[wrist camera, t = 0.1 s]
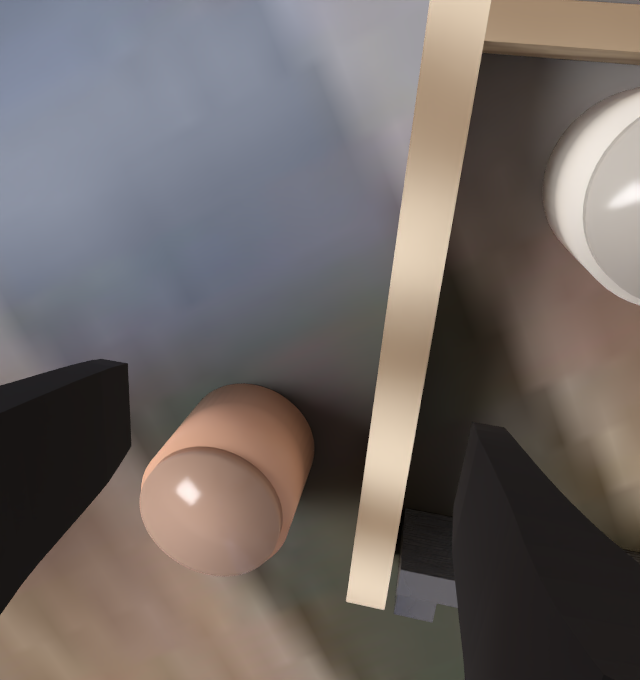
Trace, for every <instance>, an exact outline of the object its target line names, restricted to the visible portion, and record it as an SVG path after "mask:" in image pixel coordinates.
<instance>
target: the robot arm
mask: <svg viewBox="0 0 640 680" xmlns="http://www.w3.org/2000/svg"><path fill="white" fill-rule="evenodd" d="M130 447H131V427H130V405H129V382H128V363H122V362H116V361H110V360H104V359H98V360H91V361H86V362H82V363H78V364H74V365H70V366H67V367H63V368H59V369H56V370H52V371H49V372H46V373H42V374H39V375H35V376H32V377H29V378H25V379H22V380H18V381H15V382H12V383H8V384H5V385H1V386H0V614H1V613H2V612H3V610H4V609H5V607H6V606H7V605H8V603H9V602H10V600H11V599H12V597H13V596H14V595H15V593H16V592H17V590H18V589H19V587H20V586H21V585H22V583H23V582H24V581H25V580H26V578H27V577H28V576H29V575H30V573H31V572H32V571H33V570H34V568H35V567H36V566H37V565H38V563H39V562H40V561H41V560H42V559H43V558H44V556H45V555H46V554H47V553H48V552H49V551H50V550H51V548H52V547H53V546H54V545H55V544H56V543H57V542H58V540H59V539H60V538H61V537H62V536H63V535H64V534H65V532H66V531H67V530H68V529H69V528H70V527H71V525H72V524H73V523H74V522H75V521H76V520H77V519H78V517H79V516H80V515H81V514H82V513H83V512H84V511H85V509H86V508H87V507H88V506H89V505H90V504H91V502H92V501H93V500H94V499H95V498H96V496H97V495H98V494H99V493H100V492H101V491H102V489H103V488H104V487H105V486H106V484H107V483H108V482H109V480H110V479H111V477H112V476H113V474H114V473H115V471H116V470H117V468H118V467H119V465H120V464H121V462H122V460H123V459H124V457H125V455H126V454H127V452H128V450H129V449H130ZM452 556H453V566H454V576H455V586H456V595H457V604H458V613H459V623H460V632H461V641H462V650H463V659H464V673H465V680H640V564H639V563H638V562H637V561H636V560H635V559H633V558H632V557H631V556H630V555H628V554H627V553H626V552H625V551H624V550H622V549H621V548H620V547H619V546H618V545H616V544H615V543H614V542H613V541H612V540H610V539H609V538H608V537H607V536H606V535H605V534H604V533H602V532H601V531H600V530H599V529H598V528H597V527H596V526H595V525H594V524H592V523H591V522H590V521H589V520H588V519H587V518H586V517H585V516H584V515H583V514H582V513H581V512H580V511H579V510H578V509H577V508H576V507H575V506H574V505H573V504H572V503H571V502H570V501H569V500H568V499H567V498H566V497H565V496H564V495H563V494H562V493H561V492H560V491H559V490H558V488H557V487H556V486H555V485H554V484H553V483H552V482H551V481H550V480H549V479H548V478H547V476H546V475H545V474H544V473H543V472H542V471H541V470H540V469H539V467H538V466H537V465H536V464H535V463H534V462H533V460H532V459H531V458H530V457H529V456H528V455H527V453H526V452H525V451H524V450H523V449H522V447H521V446H520V445H519V444H518V443H517V441H516V440H515V439H514V438H513V437H512V435H511V434H510V433H509V432H508V431H507V430H506V429H505V428H504V427H498V426H492V425H486V424H480V423H474V422H472V425H471V430H470V434H469V439H468V443H467V448H466V452H465V457H464V461H463V466H462V470H461V475H460V479H459V484H458V488H457V493H456V497H455V502H454V506H453V532H452Z"/></svg>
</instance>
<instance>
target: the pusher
mask: <svg viewBox="0 0 640 680" xmlns="http://www.w3.org/2000/svg"><path fill="white" fill-rule="evenodd" d="M452 532H453V517H449V516H443V515H438V514H433V513H428V512H422V511H417V510H412V509H407V508H405V514H404V519H403V525H402V531H401V542H400V554H399V566H398V578H397V585H396V596H395V608H394V614H396V615H401V616H405V617H410V618H415V619H419V620H424V621H428V622H433V617H434V613H435V608H436V604H437V603H438V604H442V605H447V606H452V607H457V608H458V604H457V595H456V586H455V576H454V566H453V556H452ZM624 551H625V552H626V553H627V554H628V555H630V556H631V557H632V558H633V559H635V560H636V561H637V562H638V563H639V564H640V553H636V552H631V551H626V550H624Z"/></svg>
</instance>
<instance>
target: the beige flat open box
mask: <svg viewBox="0 0 640 680" xmlns="http://www.w3.org/2000/svg"><path fill="white" fill-rule="evenodd" d="M482 53H489V54H502V55H515V56H528V57H541V58H554V59H567V60H580V61H593V62H606V63H619V64H632V65H640V5H638V4H622V3H606V2H590V1H574V0H430V3H429V10H428V18H427V25H426V32H425V39H424V46H423V53H422V61H421V68H420V75H419V82H418V89H417V97H416V104H415V111H414V118H413V125H412V132H411V140H410V147H409V154H408V161H407V168H406V176H405V183H404V190H403V197H402V204H401V211H400V219H399V226H398V233H397V240H396V247H395V255H394V262H393V269H392V276H391V283H390V290H389V298H388V305H387V312H386V319H385V326H384V333H383V341H382V348H381V355H380V362H379V369H378V377H377V384H376V391H375V398H374V405H373V412H372V420H371V427H370V434H369V441H368V448H367V456H366V463H365V470H364V477H363V484H362V491H361V499H360V506H359V513H358V520H357V527H356V535H355V542H354V549H353V556H352V563H351V570H350V578H349V585H348V592H347V599H346V602H350V603H355V604H359V605H364V606H368V607H373V608H378V609H382V610H384V609H385V603H386V597H387V592H388V586H389V580H390V575H391V569H392V563H393V558H394V552H395V546H396V540H397V535H398V529H399V523H400V518H401V512H402V506H403V500H404V495H405V489H406V483H407V478H408V472H409V466H410V461H411V455H412V449H413V443H414V438H415V432H416V426H417V421H418V415H419V409H420V404H421V398H422V392H423V386H424V381H425V375H426V369H427V364H428V358H429V352H430V347H431V341H432V335H433V329H434V324H435V318H436V312H437V307H438V301H439V295H440V290H441V284H442V278H443V272H444V267H445V261H446V255H447V250H448V244H449V238H450V233H451V227H452V221H453V215H454V210H455V204H456V198H457V193H458V187H459V181H460V176H461V170H462V164H463V158H464V153H465V147H466V141H467V136H468V130H469V124H470V119H471V113H472V107H473V101H474V96H475V90H476V84H477V79H478V73H479V67H480V62H481V56H482Z"/></svg>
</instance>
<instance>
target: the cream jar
mask: <svg viewBox="0 0 640 680" xmlns="http://www.w3.org/2000/svg"><path fill="white" fill-rule="evenodd" d="M542 197H543V207H544V211H545V215H546V218H547V221H548V223H549V225H550V228H551V229H552V231H553V233H554V234H555V236H556V237H557V239H558V240H559V241H560V242H561V243H562V245H563V246H564V247H565V248H566V249H567V250H568V251H569V252H570V253H571V254H572V255H573V256H574V257H575V258H576V259H577V260H578V261H579V262H580V263H581V264H582V265H583V266H584V267H585V268H586V269H587V270H588V271H589V272H590V273H591V275H592V276H593V277H594V278H595V279H596V280H597V281H599V282H600V283H601V284H602V285H603V286H604V287H605V288H606V289H608V290H609V291H611V292H612V293H614V294H615V295H617V296H618V297H620V298H622V299H624V300H627V301H629V302H631V303H634V304H637V305H640V87H639V88H634V89H630V90H626V91H623V92H620V93H617V94H615V95H612V96H610V97H608V98H606V99H604V100H602V101H600V102H598V103H597V104H595V105H594V106H592V107H591V108H589V109H588V110H586V111H585V112H584V113H583V114H582V115H580V116H579V117H578V118H577V119H576V120H575V121H574V122H573V123H572V124H571V125H570V126H569V127H568V128H567V130H566V131H565V132H564V134H563V135H562V136H561V138H560V139H559V141H558V142H557V144H556V146H555V148H554V149H553V151H552V154H551V156H550V158H549V160H548V163H547V167H546V170H545V174H544V180H543V192H542Z"/></svg>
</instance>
